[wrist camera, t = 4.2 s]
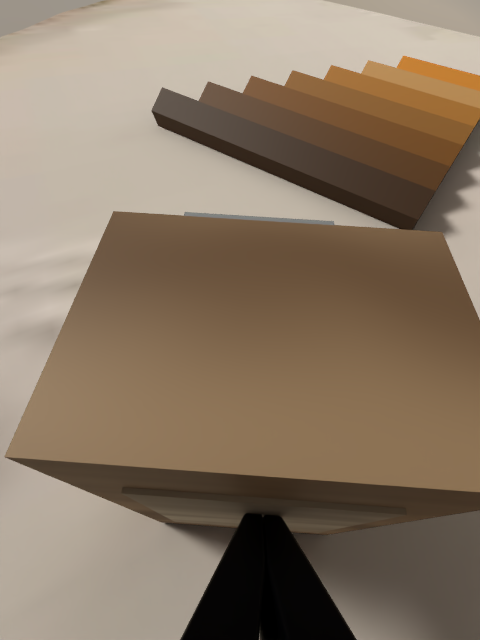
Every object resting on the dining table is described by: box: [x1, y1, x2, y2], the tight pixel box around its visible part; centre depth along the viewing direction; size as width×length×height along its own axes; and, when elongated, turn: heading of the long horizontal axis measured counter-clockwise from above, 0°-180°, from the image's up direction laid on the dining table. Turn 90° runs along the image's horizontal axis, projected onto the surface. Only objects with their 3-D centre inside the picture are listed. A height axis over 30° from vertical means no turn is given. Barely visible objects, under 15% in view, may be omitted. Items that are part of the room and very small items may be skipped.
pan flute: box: [152, 56, 480, 230], centre depth 33 cm, size 25×3×25 cm
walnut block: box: [5, 211, 480, 535], centre depth 11 cm, size 5×7×12 cm
